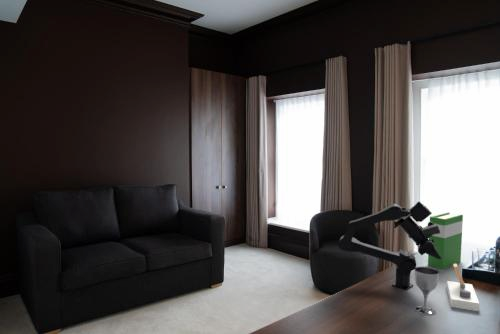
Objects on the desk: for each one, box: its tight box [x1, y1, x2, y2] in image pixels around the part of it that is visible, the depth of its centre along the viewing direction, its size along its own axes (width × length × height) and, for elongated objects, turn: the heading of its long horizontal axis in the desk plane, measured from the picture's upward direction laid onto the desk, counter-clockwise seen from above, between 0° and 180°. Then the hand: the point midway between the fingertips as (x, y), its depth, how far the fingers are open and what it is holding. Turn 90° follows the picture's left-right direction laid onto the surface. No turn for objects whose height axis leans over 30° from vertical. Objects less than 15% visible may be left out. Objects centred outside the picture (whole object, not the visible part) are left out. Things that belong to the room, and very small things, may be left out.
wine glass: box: [414, 266, 440, 316], centre depth 135 cm, size 8×8×15 cm
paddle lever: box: [453, 263, 465, 289], centre depth 150 cm, size 2×4×9 cm, turn 155°
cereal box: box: [427, 212, 464, 270], centre depth 186 cm, size 18×7×24 cm, turn 126°
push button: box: [460, 290, 471, 298], centre depth 141 cm, size 4×4×1 cm
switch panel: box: [446, 280, 480, 312], centre depth 146 cm, size 9×19×3 cm, turn 157°
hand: (440, 258), depth 152 cm, fingers closed
